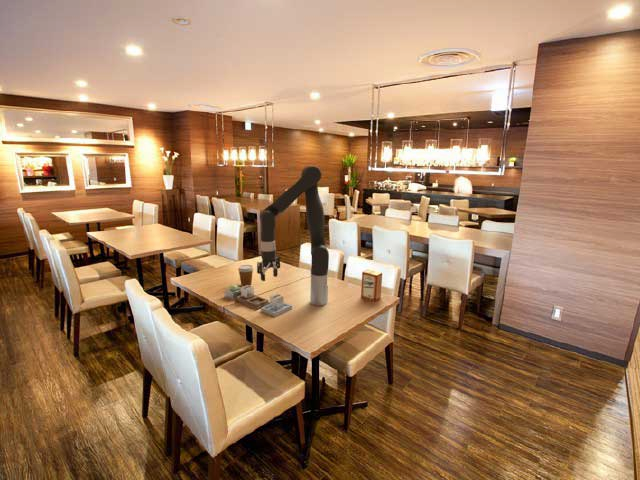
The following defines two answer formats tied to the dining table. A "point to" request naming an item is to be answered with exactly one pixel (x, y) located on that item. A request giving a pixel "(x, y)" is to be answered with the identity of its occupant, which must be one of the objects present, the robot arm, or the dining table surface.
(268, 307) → the tray
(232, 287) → the button
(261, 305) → the frame
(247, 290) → the block
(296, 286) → the dining table surface
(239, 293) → the grey button housing
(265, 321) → the dining table surface
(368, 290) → the baking soda box
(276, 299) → the block
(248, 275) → the disposable coffee cup
